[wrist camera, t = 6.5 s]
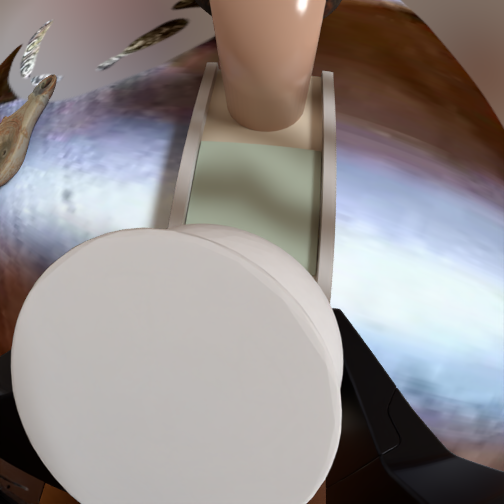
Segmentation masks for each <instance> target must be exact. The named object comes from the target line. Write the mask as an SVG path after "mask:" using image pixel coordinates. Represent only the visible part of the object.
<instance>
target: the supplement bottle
mask: <svg viewBox="0 0 504 504" xmlns="http://www.w3.org/2000/svg"><path fill="white" fill-rule="evenodd" d="M11 376H12V388H13V394H14V398H15V402H16V406H17V410H18V413H19V416H20V419H21V422H22V424H23V427H24V429H25V431H26V434H27V436H28V438H29V440H30V442H31V444H32V446H33V448H34V449H35V451H36V452H37V454H38V455H39V457H40V459H41V460H42V462H43V463H44V465H45V466H46V467H47V469H48V470H49V471H50V472H51V474H52V475H53V476H54V478H55V479H56V480H57V481H58V482H59V483H60V484H61V485H62V486H63V488H64V489H65V490H66V491H67V492H68V493H69V494H70V495H71V496H72V497H74V498H75V499H76V500H77V501H78V502H80V503H81V504H306V503H307V502H308V501H309V500H310V499H311V498H312V497H313V496H314V494H315V493H316V491H317V490H318V488H319V487H320V486H321V484H322V483H323V481H324V480H325V478H326V476H327V474H328V472H329V470H330V468H331V466H332V463H333V460H334V458H335V455H336V452H337V449H338V445H339V440H340V435H341V421H342V408H341V395H340V388H341V382H342V376H343V348H342V341H341V336H340V331H339V328H338V324H337V320H336V318H335V315H334V312H333V310H332V308H331V306H330V304H329V301H328V299H327V297H326V296H325V294H324V293H323V291H322V289H321V288H320V286H319V285H318V284H317V282H316V281H315V280H314V278H313V277H312V276H311V275H310V273H309V272H308V271H307V270H306V269H305V268H304V267H303V266H302V265H301V264H300V263H299V262H298V261H297V260H296V259H294V258H293V257H292V256H291V255H289V254H288V253H287V252H285V251H284V250H283V249H281V248H280V247H278V246H277V245H275V244H273V243H271V242H270V241H268V240H266V239H264V238H262V237H260V236H258V235H255V234H253V233H250V232H247V231H244V230H241V229H238V228H234V227H230V226H224V225H217V224H205V223H204V224H187V225H180V226H175V227H171V228H167V229H156V228H134V229H124V230H119V231H114V232H110V233H106V234H104V235H101V236H98V237H95V238H93V239H90V240H87V241H85V242H84V243H82V244H80V245H78V246H76V247H74V248H72V249H71V250H70V251H68V252H67V253H66V254H64V255H63V256H62V257H61V258H59V259H58V260H57V261H55V262H54V263H53V264H52V265H51V266H50V267H49V268H48V269H47V270H46V271H45V272H44V273H43V274H42V275H41V277H40V278H39V279H38V280H37V281H36V283H35V284H34V286H33V288H32V289H31V291H30V292H29V294H28V296H27V298H26V299H25V301H24V304H23V306H22V309H21V311H20V314H19V316H18V319H17V323H16V327H15V331H14V336H13V342H12V349H11Z"/></svg>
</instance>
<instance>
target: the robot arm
mask: <svg viewBox="0 0 504 504" xmlns="http://www.w3.org/2000/svg"><path fill="white" fill-rule="evenodd" d="M332 310H333V312H334V315H335V318H336V320H337V324H338V328H339V331H340V336H341V341H342V348H343V376H342V382H341V388H340V395H341V408H342V421H341V435H340V440H339V445H338V449H337V452H336V455H335V458H334V460H333V463H332V466H331V468H330V470H329V472H328V474H327V476H326V488H327V489H326V504H504V472H503V471H499V470H496V469H493V468H490V467H487V466H484V465H481V464H478V463H475V462H472V461H469V460H466V459H464V458H461V457H458V456H456V455H455V454H453V453H452V452H450V451H449V450H448V449H447V448H446V447H445V446H444V445H443V444H442V443H441V442H440V441H439V439H438V438H437V437H436V436H435V435H434V434H433V432H432V431H431V430H430V429H429V428H428V427H427V425H426V424H425V423H424V422H423V421H422V420H421V418H420V417H419V416H418V415H417V414H416V412H415V411H414V410H413V409H412V407H411V406H410V405H409V403H408V402H407V400H406V399H405V398H404V396H403V395H402V394H401V392H400V391H399V389H398V388H396V385H395V384H394V382H393V381H392V379H391V378H390V377H389V375H388V374H387V372H386V371H385V370H384V368H383V367H382V365H381V364H380V363H379V361H378V360H377V358H376V357H375V356H374V354H373V353H372V351H371V350H370V349H369V347H368V346H367V345H366V343H365V342H364V341H363V339H362V338H361V336H360V335H359V334H358V332H357V331H356V330H355V328H354V327H353V326H352V324H351V323H350V322H349V320H348V319H347V318H346V316H345V315H344V313H343V312H342V311H341V310H340V309H336V308H332ZM45 483H47V484H49V485H51V486H54V487H56V488H58V489H60V490H63V491H65V492H67V491H66V490H65V489H64V488H63V486H62V485H61V484H60V483H59V482H58V481H57V480H56V479H55V478H54V476H53V475H52V474H51V472H50V471H49V470H48V469H47V467H46V466H45V465H44V463H43V462H42V460H41V459H40V457H39V455H38V454H37V452H36V451H35V449H34V448H33V446H32V444H31V442H30V440H29V438H28V436H27V434H26V431H25V429H24V427H23V424H22V422H21V419H20V416H19V413H18V410H17V406H16V402H15V398H14V394H13V388H12V376H11V350H10V351H8V352H7V353H5V354H3V355H2V356H0V504H39V501H40V498H41V495H42V492H43V488H44V485H45Z"/></svg>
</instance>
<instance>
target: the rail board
mask: <svg viewBox="0 0 504 504" xmlns="http://www.w3.org/2000/svg"><path fill="white" fill-rule="evenodd" d="M335 216H336V122H335V99H334V82H333V72H327V71H322V75H321V77H315V76H311V80H310V85H309V90H308V94H307V99H306V104H305V109H304V112H303V114H302V116H301V117H300V119H299V120H298V121H297V122H296V123H294V124H293V125H291V126H290V127H288V128H285V129H282V130H279V131H272V132H261V131H255V130H251V129H248V128H246V127H244V126H242V125H240V124H239V123H237V122H236V121H235V120H234V119H233V118H232V117H231V115H230V113H229V111H228V109H227V103H226V97H225V91H224V85H223V79H222V73H221V69H218V63H207V65H206V68H205V72H204V75H203V78H202V82H201V85H200V89H199V92H198V96H197V99H196V103H195V107H194V110H193V114H192V118H191V122H190V126H189V130H188V134H187V138H186V142H185V146H184V150H183V155H182V159H181V164H180V168H179V173H178V178H177V182H176V187H175V192H174V197H173V203H172V208H171V213H170V219H169V224H168V228H171V227H175V226H180V225H187V224H204V223H205V224H217V225H224V226H230V227H234V228H238V229H241V230H244V231H247V232H250V233H253V234H255V235H258V236H260V237H262V238H264V239H266V240H268V241H270V242H271V243H273V244H275V245H277V246H278V247H280V248H281V249H283V250H284V251H285V252H287V253H288V254H289V255H291V256H292V257H293V258H294V259H296V260H297V261H298V262H299V263H300V264H301V265H302V266H303V267H304V268H305V269H306V270H307V271H308V272H309V273H310V275H311V276H312V277H313V278H314V280H315V281H316V282H317V284H318V285H319V286H320V288H321V289H322V291H323V293H324V294H325V296H326V297H327V299H328V301H329V304H330V298H331V286H332V273H333V258H334V240H335Z"/></svg>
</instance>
